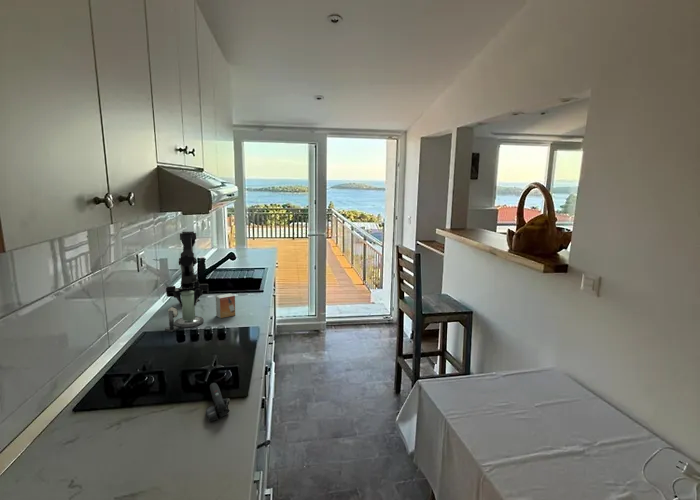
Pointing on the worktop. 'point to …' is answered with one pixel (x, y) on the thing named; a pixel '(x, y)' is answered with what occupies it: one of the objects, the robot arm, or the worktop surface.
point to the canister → (188, 305)
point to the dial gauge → (172, 314)
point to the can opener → (217, 404)
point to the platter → (189, 322)
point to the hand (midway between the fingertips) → (188, 305)
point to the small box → (225, 305)
